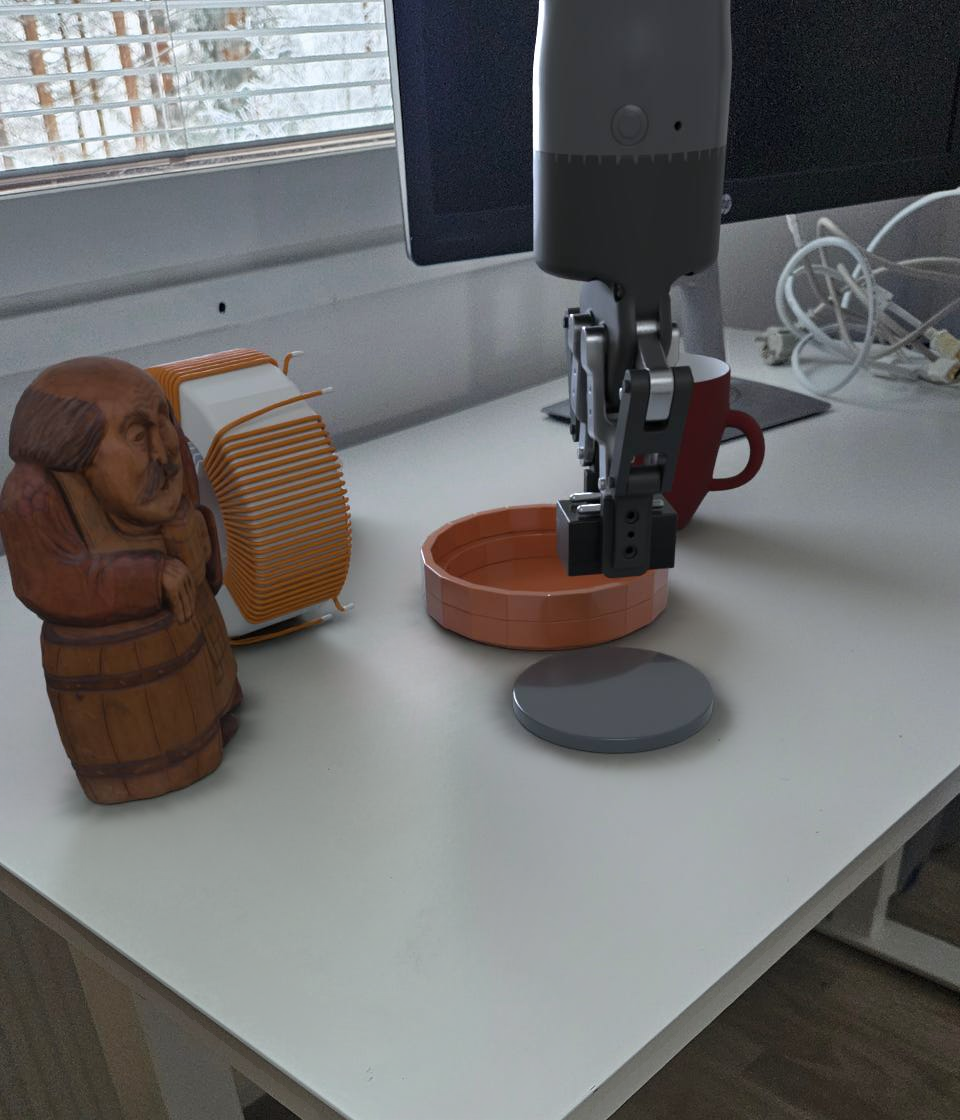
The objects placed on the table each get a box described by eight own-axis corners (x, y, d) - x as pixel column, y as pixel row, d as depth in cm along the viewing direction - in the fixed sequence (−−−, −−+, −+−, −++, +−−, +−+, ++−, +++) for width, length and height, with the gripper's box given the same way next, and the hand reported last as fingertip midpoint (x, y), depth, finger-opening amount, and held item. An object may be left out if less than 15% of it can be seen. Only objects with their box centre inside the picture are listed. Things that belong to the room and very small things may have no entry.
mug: (754, 504, 85) (768, 352, 80) (759, 547, 79) (776, 384, 73) (601, 501, 87) (604, 352, 81) (594, 543, 80) (597, 384, 74)
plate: (681, 651, 67) (682, 638, 66) (738, 742, 59) (740, 727, 58) (498, 669, 66) (498, 655, 65) (531, 763, 58) (531, 748, 57)
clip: (658, 545, 59) (661, 482, 58) (674, 568, 57) (679, 503, 55) (555, 553, 59) (556, 490, 57) (568, 577, 56) (569, 512, 55)
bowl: (633, 549, 79) (636, 495, 77) (696, 642, 68) (700, 582, 66) (413, 568, 78) (410, 513, 76) (439, 666, 66) (435, 606, 64)
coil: (274, 683, 65) (233, 393, 57) (140, 601, 75) (88, 343, 66) (379, 643, 69) (355, 365, 60) (238, 570, 78) (201, 321, 70)
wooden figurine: (194, 815, 55) (111, 399, 45) (58, 809, 56) (-54, 399, 45) (265, 692, 65) (210, 326, 54) (148, 688, 65) (72, 327, 55)
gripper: (783, 148, 43) (738, 613, 53) (674, 118, 54) (654, 504, 64) (570, 158, 42) (565, 628, 52) (506, 125, 53) (511, 515, 63)
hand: (614, 558), depth 58 cm, fingers closed on clip, 3 cm apart
